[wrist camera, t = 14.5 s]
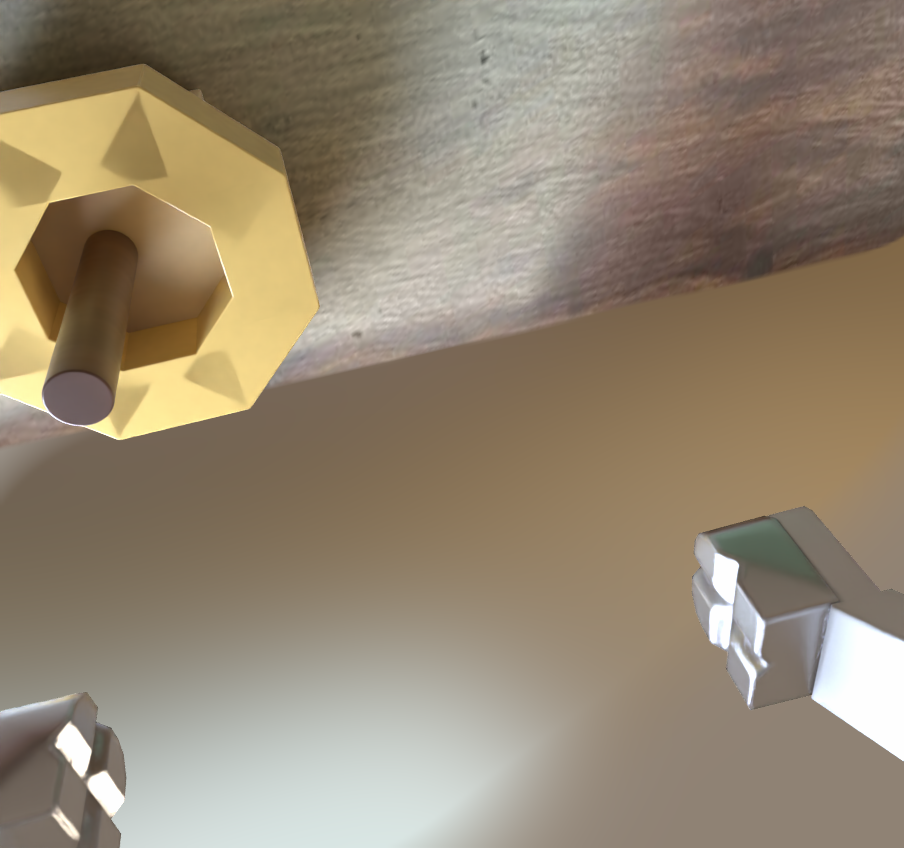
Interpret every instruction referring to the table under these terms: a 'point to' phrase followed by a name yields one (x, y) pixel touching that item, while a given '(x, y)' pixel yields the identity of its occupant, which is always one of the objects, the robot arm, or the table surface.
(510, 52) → the table surface
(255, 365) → the brass ring
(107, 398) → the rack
